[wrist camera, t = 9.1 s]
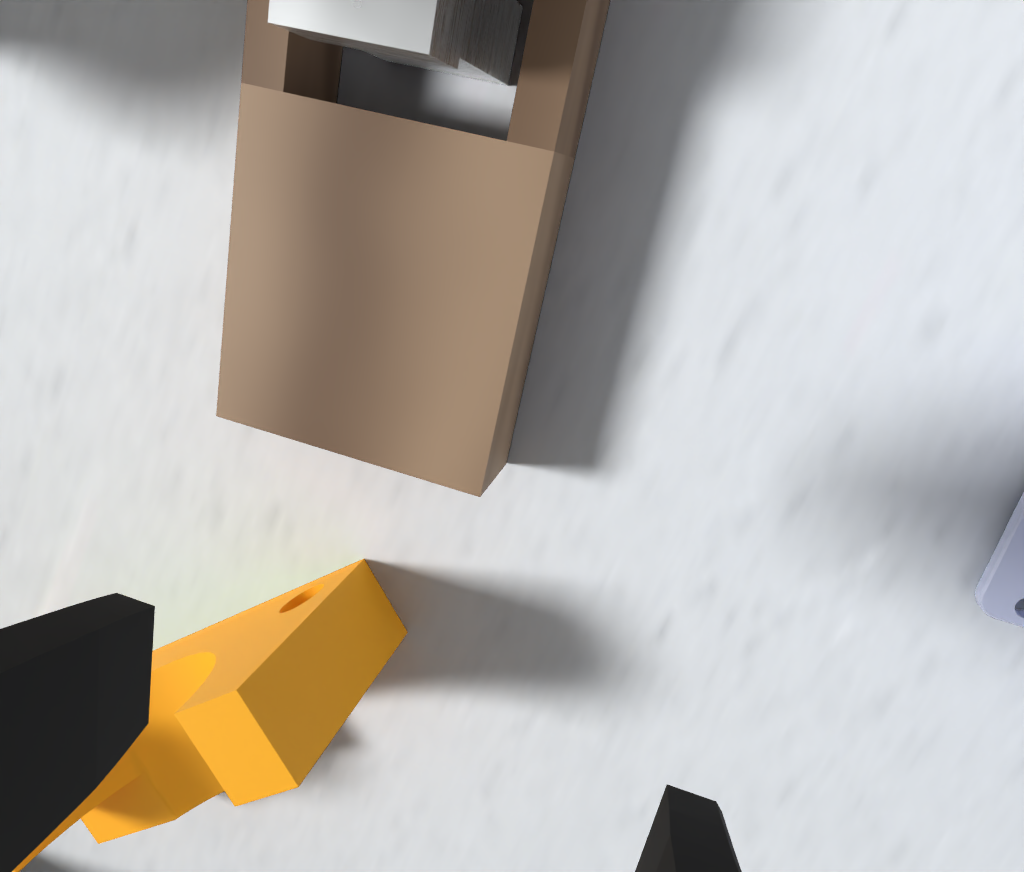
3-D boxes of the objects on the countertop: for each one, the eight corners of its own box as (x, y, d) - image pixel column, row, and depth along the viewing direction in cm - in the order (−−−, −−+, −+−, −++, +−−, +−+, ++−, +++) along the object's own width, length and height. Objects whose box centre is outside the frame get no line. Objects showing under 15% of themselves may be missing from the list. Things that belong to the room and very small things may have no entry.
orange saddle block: (167, 771, 27) (9, 936, 21) (100, 672, 26) (-82, 812, 20) (438, 677, 22) (339, 850, 16) (367, 556, 22) (236, 689, 16)
